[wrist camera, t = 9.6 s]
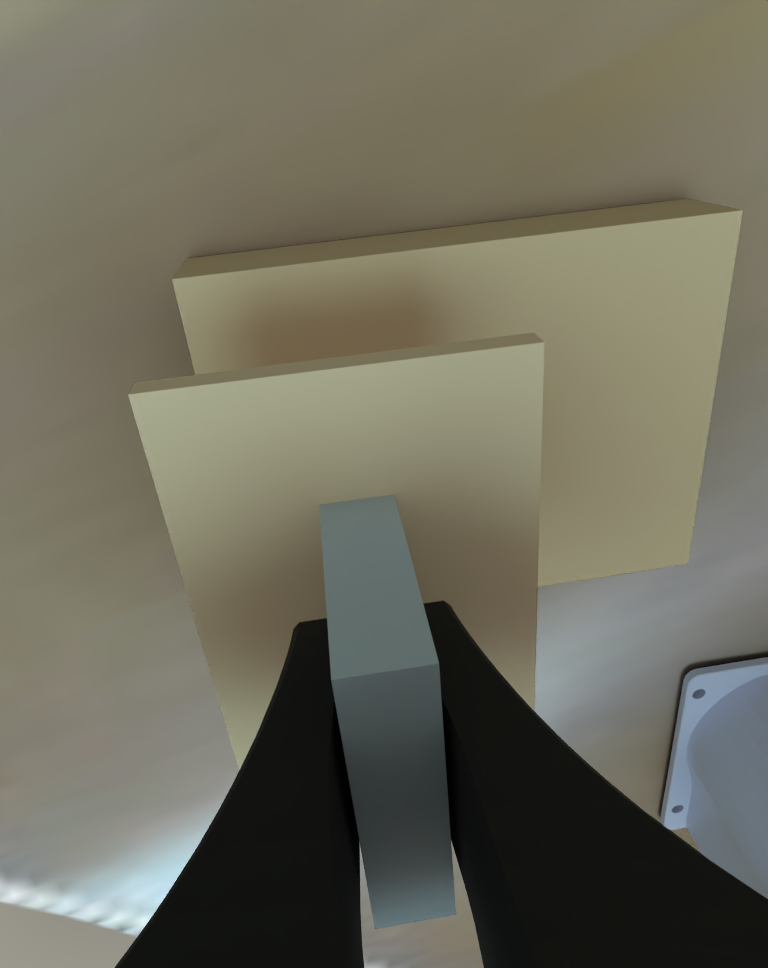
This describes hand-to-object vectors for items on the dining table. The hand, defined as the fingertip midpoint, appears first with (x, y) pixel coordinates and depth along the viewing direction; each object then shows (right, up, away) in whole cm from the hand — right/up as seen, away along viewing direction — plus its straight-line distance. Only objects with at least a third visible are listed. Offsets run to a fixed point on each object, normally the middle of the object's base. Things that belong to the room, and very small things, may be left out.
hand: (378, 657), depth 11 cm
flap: (0, +1, +1) cm, 2 cm away
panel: (+2, +5, +9) cm, 10 cm away
